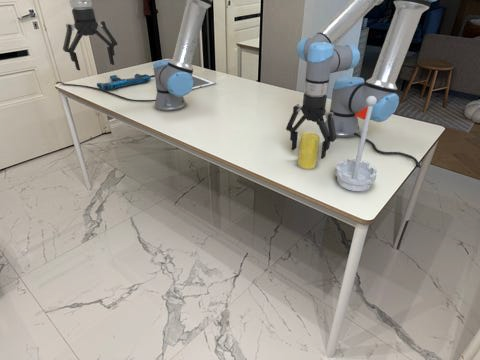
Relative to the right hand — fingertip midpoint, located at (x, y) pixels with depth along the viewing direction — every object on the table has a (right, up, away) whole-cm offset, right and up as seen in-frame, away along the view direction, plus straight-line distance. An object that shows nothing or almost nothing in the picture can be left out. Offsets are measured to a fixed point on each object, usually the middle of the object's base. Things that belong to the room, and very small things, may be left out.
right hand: (308, 153), depth 123 cm
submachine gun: (-95, +51, +86) cm, 138 cm away
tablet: (-58, +52, +88) cm, 118 cm away
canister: (0, -4, +3) cm, 5 cm away
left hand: (-83, +36, +14) cm, 91 cm away
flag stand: (+14, -11, -8) cm, 19 cm away
